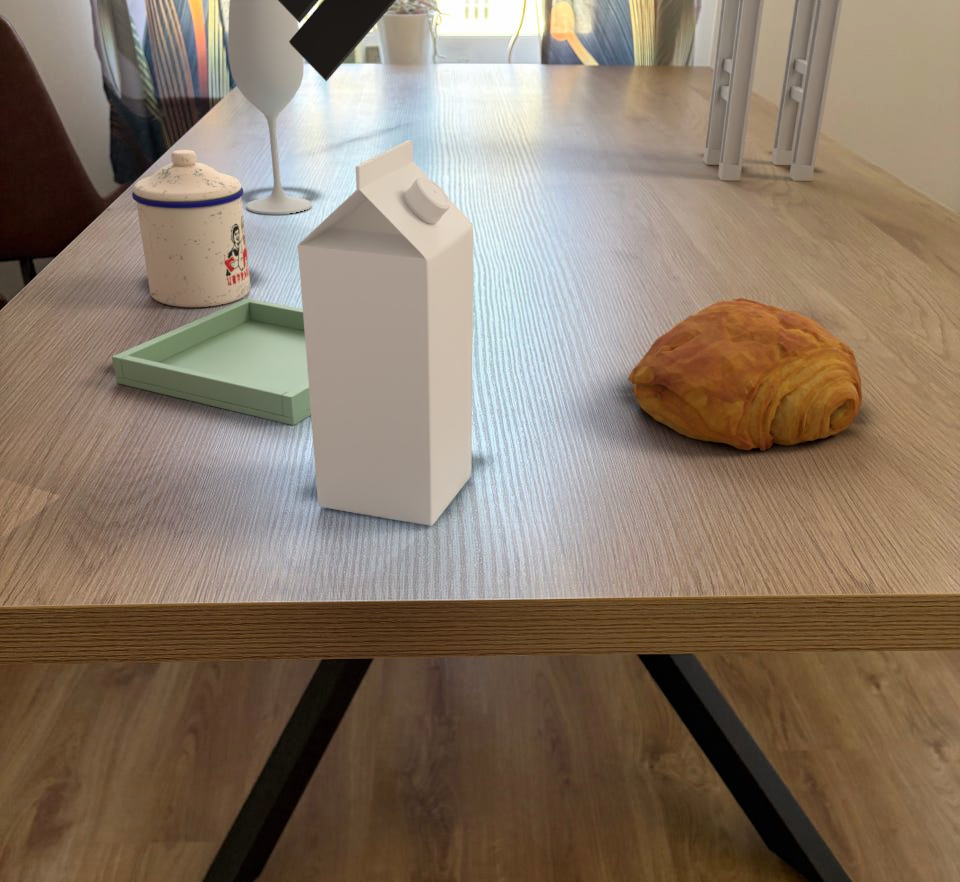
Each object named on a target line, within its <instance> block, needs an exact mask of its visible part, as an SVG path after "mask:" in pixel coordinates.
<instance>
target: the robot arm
mask: <svg viewBox="0 0 960 882" xmlns="http://www.w3.org/2000/svg"><path fill="white" fill-rule="evenodd" d="M278 1H279V2H280V3H281V4H282V5H283V6H284V7H285V8H286V9H287V10H288V11H289V12H290V14H291V15H292V16H293V17H294V18H295V19H296V20H297V21H298V24H301V22H303V20H304V18H306V16H307V15H308V14H309V13H310V11H311V10H312V9H313V8H314V6H315V5H317V3H318V2H319V1H320V0H278ZM396 1H397V0H322V2H321V3H320V4H319V5H318V6H317V7H316V8H315V10H313V12H312V14H310V16H309V17H308V18H307V19H306V21H305V22H304V23H303V24H302V25H301V26H300V27H299V30H298V31H297V33H296V34H295V35H294V36H293V37H292V38H291V40H290V41H289V42H290V44H291V45H292V46H293V47H294V48H295V50H296V51H297V52H298V53H299V54H300V55H301V56H302V57H303V60H305V61H306V62H307V63H308V64H309V66H311V67H312V68H313V70H314V71H316V72H317V74H318V75H320V77H321V78H322V79H323V80H324V81H325V82H328V81H329V79H330V78H331V77H332V76H333V74H335V72H336V71H337V70H338V69H339V68H340V67H341V66H342V64H343V63H344V62H345V61H346V59H347V58H348V57H349V56H350V55H351V54H352V53H353V51H354V50H355V49H357V46H358V45H359V44H360V43H361V42H362V41H363V40H364V39H365V37H366V36H367V35H368V34H369V33H370V31H371V30H372V29H373V28H374V27H375V26H376V25H377V23H378V22H379V21H380V20H381V19H382V17H383V16H385V14H386V13H387V12H388V11H389V9H390V8H391V7H392V6H393V5H394V4H395V2H396ZM412 1H416V0H412Z"/></svg>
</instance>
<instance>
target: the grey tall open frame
mask: <svg viewBox="0 0 960 882" xmlns="http://www.w3.org/2000/svg"><path fill="white" fill-rule="evenodd" d="M764 4H765V0H721V4H720V10H719V11H720V12H719V19H718V20H719V21H718V29H717V37H716V38H717V39H716V46H715V55H714V63H713V73H712V80H711V81H712V82H711V88H710V89H711V90H710V98H709V108H708V115H707V116H708V117H707V125H706V134H705V143H704V144H705V145H704V150H703V151H704V152H703V158H702V162H703V163H704V164H705V165H706V166H718V172H717V178H718V179H719V180H720V181H728V182H729V181H730V182H731V181H732V182H733V181H735V182H736V181H741V176H742V168H743V162H744V161H743V160H744V154H745V145H746V137H747V130H748V123H749V116H750V107H751V100H752V95H753V94H752V93H753V85H754V78H755V70H756V63H757V55H758V47H759V41H760V32H761V25H762V20H763V19H762V17H763V11H764ZM842 5H843V0H794V3H793V9H792V10H793V11H792V17H791V22H790V30H789V35H788V36H789V37H788V44H787V51H786V56H785V64H784V71H783V78H782V84H781V91H780V98H779V104H778V110H777V118H776V126H775V130H774V131H775V132H774V137H773V138H774V139H773V145H772V146H773V147H772V153H771V157H770V158H771V159H770V162H771V163H772V164H773V165H774V166H790V170H789V178H790V179H791V180H792V181H793V182H813V178H814V172H815V166H816V160H817V154H818V149H819V142H820V136H821V132H822V125H823V119H824V112H825V106H826V101H827V95H828V89H829V83H830V76H831V71H832V65H833V59H834V53H835V47H836V41H837V35H838V29H839V24H840V23H839V22H840V17H841V11H842Z"/></svg>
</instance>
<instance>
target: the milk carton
mask: <svg viewBox="0 0 960 882" xmlns="http://www.w3.org/2000/svg"><path fill="white" fill-rule="evenodd" d="M413 141H414V140H413V139H407V140H406V141H403V142H401V143H399V144H397V145H396V146H393V147H391V148H389V149H387V150H385V151H382V152H381V153H378V154H377V155H375V156H373V157H371V158H368V159H367V160H364V161H362V162H361V163H359V164H356V165H355V186H356V187H355V188H356V190H354V192H353V193H351V194H350V195H349V196H348V197H347V198H346V199H345V200H344V201H343V202H342V203H341V204H340V205H338V206H337V208H335V209H334V210H333V211H332V212H331V213H330V214H329V215H328V216H327V217H325V219H324V220H323V221H321V222H320V223H319V224H318V225H317V226H316V227H315V228H314V229H313V230H312V231H311V232H310V233H309V234H308V235H307V236H305V237H304V239H303V240H301V241H300V242H299V243H298V244H297V253H298V265H299V276H300V278H299V279H300V291H301V303H302V304H301V305H302V309H303V318H304V331H305V344H306V357H307V370H308V383H309V395H310V408H311V415H310V420H311V432H312V433H311V434H312V445H313V457H314V458H313V459H314V460H313V461H314V469H315V470H314V472H315V484H316V496H317V499H316V500H317V505H318V507H319V508H325V509H331V510H337V511H343V512H349V513H354V514H359V515H365V516H370V517H377V518H382V519H388V520H394V521H400V522H407V523H412V524H418V525H422V526H423V525H425V526H434V524H435V523H436V522H437V521H438V519H439V518H441V517H440V516H441V515H442V514H443V513H444V511H446V509H447V508H448V506H449V505H450V504H451V502H452V501H453V500H454V499H455V498H456V496H457V495H458V494H459V492H460V491H461V490H462V488H463V487H464V486H465V485H466V483H467V482H468V481H469V480H470V478H471V476H472V453H473V452H472V447H473V444H472V443H473V442H472V440H473V439H472V438H473V437H472V435H473V433H472V432H473V429H472V428H473V423H472V422H473V333H474V331H473V327H474V324H473V323H474V321H473V318H474V315H473V314H474V227H473V226H474V225H473V222H471V220H470V219H469V218H468V217H467V216H466V214H465V213H463V212H462V211H461V209H460V208H459V207H457V205H456V204H455V203H453V201H452V200H451V199H450V198H449V196H448V195H447V193H446V192H445V191H444V190H443V189H442V187H440V186H439V185H438V184H437V183H436V182H435V181H433V180H432V179H431V178H430V177H429V176H428V175H427V174H426V173H425V172H424V171H423V170H422V169H421V168H420V167H419V165H417V164H416V163H415V161H414V142H413Z"/></svg>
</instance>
